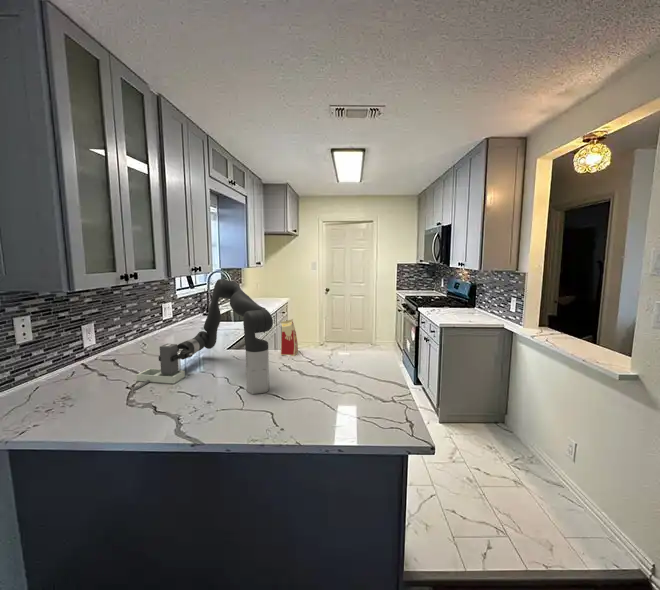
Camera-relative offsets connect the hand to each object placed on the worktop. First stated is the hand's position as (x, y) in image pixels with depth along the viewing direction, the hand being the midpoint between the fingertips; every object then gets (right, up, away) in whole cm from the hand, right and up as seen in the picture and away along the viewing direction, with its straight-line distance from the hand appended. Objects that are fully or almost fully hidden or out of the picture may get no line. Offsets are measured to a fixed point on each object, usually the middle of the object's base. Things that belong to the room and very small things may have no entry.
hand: (165, 359), depth 147 cm
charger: (0, -6, +3) cm, 7 cm away
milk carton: (+48, -6, +45) cm, 66 cm away
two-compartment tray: (-5, -11, 0) cm, 11 cm away
